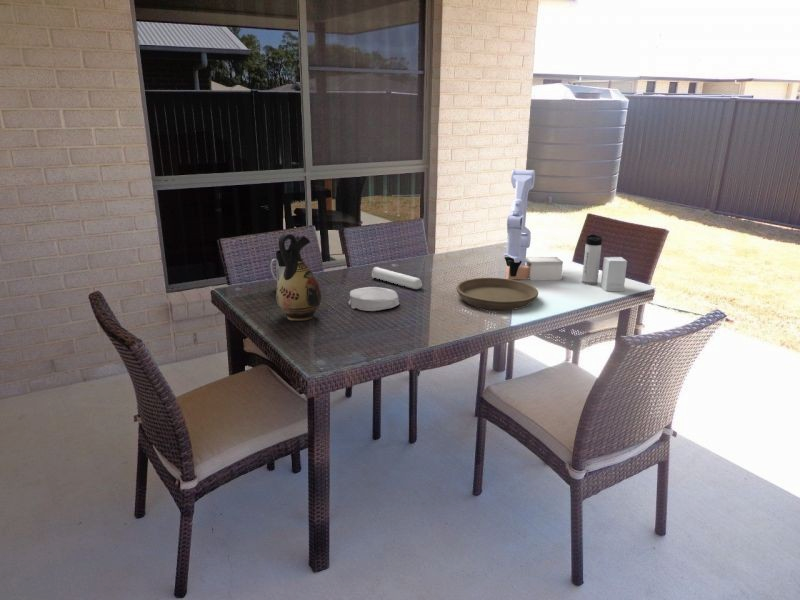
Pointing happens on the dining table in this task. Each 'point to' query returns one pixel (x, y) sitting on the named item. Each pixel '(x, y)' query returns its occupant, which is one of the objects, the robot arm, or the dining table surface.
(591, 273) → the travel mug
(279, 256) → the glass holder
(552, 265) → the dispenser
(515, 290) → the plant saucer
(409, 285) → the tube
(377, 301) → the food container
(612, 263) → the supplement box
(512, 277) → the orange long block
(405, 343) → the dining table surface
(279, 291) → the ceramic jug
